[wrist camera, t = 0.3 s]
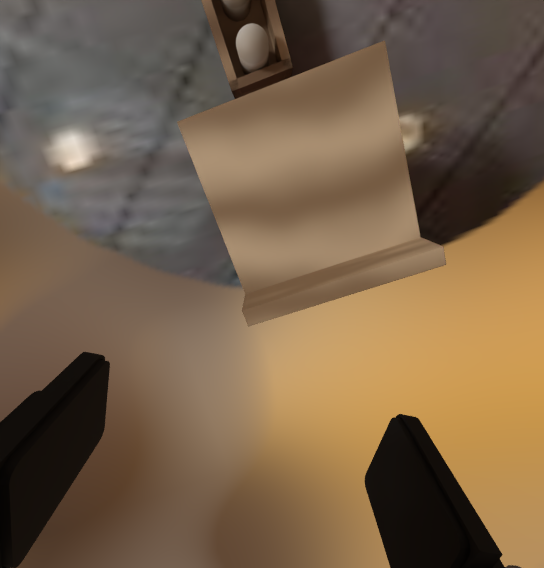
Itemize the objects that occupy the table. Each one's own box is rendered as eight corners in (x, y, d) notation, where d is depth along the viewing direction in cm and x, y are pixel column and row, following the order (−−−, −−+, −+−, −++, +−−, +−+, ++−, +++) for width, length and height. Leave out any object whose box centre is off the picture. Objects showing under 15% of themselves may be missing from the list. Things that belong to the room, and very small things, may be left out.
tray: (199, -9, 30) (183, -52, 24) (257, -34, 29) (255, -85, 24) (236, 102, 33) (229, 87, 27) (289, 81, 33) (294, 61, 27)
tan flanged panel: (218, 146, 35) (161, 112, 16) (330, 103, 33) (406, 14, 15) (258, 254, 39) (248, 326, 20) (359, 220, 37) (446, 264, 19)
